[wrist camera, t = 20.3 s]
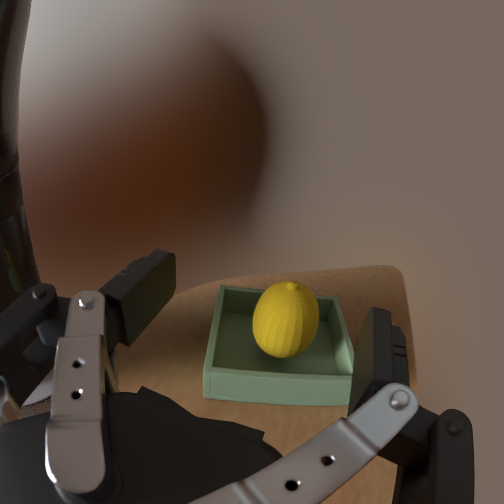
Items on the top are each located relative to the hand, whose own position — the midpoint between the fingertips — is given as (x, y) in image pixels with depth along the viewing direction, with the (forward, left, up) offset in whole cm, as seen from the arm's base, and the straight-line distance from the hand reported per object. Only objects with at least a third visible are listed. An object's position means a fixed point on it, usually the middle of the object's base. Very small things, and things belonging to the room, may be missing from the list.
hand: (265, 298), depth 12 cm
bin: (+3, +11, -15) cm, 18 cm away
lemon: (+3, +10, -14) cm, 18 cm away
